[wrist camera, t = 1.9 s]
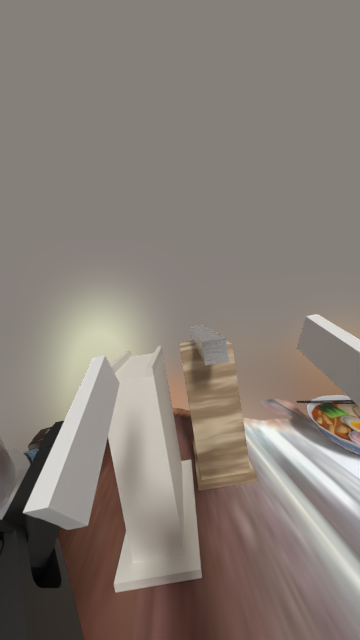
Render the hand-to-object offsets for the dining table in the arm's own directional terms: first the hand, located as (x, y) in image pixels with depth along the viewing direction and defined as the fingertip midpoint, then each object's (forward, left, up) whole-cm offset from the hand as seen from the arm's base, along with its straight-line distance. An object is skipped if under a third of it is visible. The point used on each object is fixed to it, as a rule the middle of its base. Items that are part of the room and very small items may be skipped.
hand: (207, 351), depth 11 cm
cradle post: (-23, +13, -40) cm, 48 cm away
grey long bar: (-15, +27, -7) cm, 31 cm away
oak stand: (-16, +29, -40) cm, 52 cm away
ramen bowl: (+16, +49, -40) cm, 65 cm away
